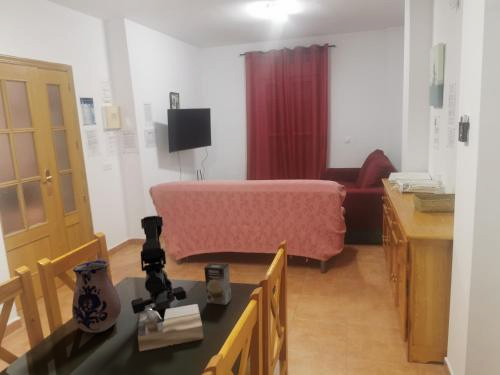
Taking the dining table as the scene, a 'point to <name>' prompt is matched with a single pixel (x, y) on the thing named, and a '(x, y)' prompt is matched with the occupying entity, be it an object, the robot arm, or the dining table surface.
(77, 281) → the ceramic pitcher
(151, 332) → the stepped wooden block
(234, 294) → the dining table surface
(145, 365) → the dining table surface
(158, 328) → the bar
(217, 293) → the coffee box
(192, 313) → the jamb
